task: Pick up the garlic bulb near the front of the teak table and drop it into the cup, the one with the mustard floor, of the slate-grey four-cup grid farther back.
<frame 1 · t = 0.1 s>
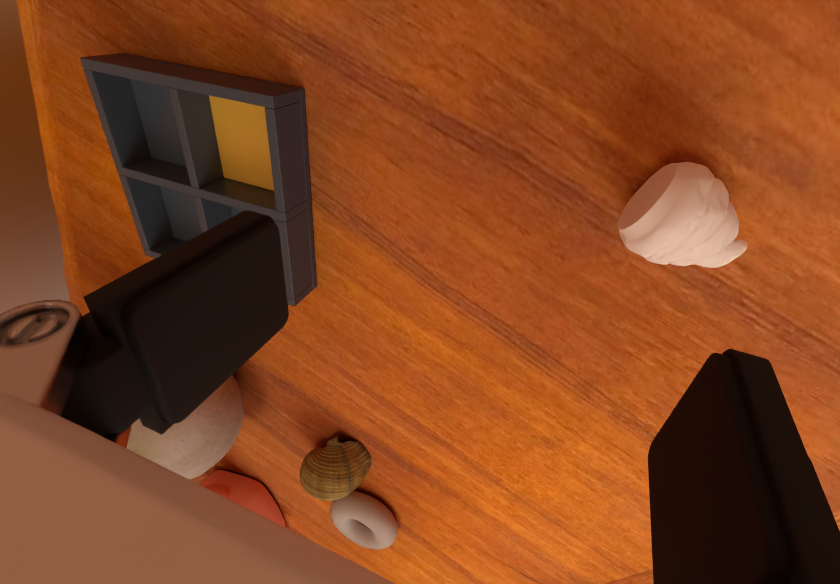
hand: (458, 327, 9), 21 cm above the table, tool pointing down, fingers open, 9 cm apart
pot: (249, 494, 75), on the table
donut: (369, 507, 61), on the table
grid: (227, 178, 38), on the table
garlic bulb: (685, 208, 26), on the table
decorative sphere: (222, 371, 56), on the table
seashell: (343, 451, 55), on the table
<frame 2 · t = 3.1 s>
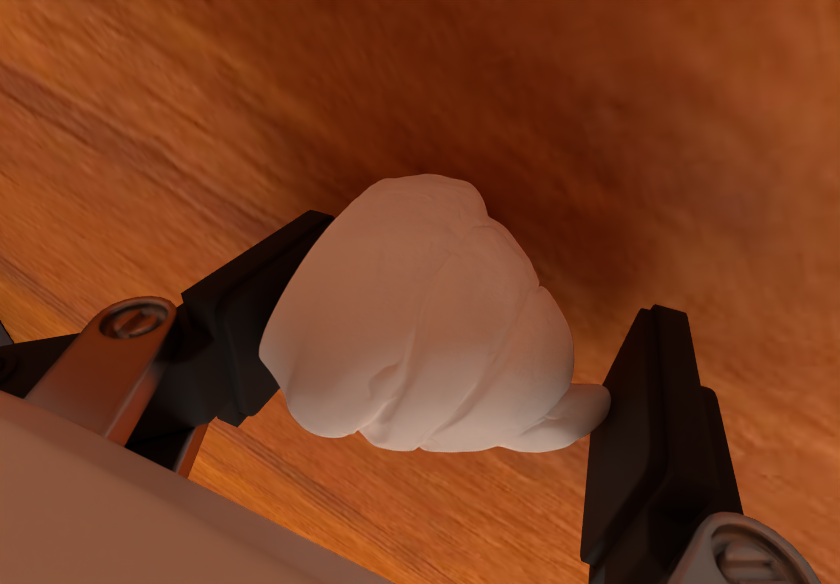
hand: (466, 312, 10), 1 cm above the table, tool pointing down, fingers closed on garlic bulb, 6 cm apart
garlic bulb: (493, 280, 11), on the table, touching gripper
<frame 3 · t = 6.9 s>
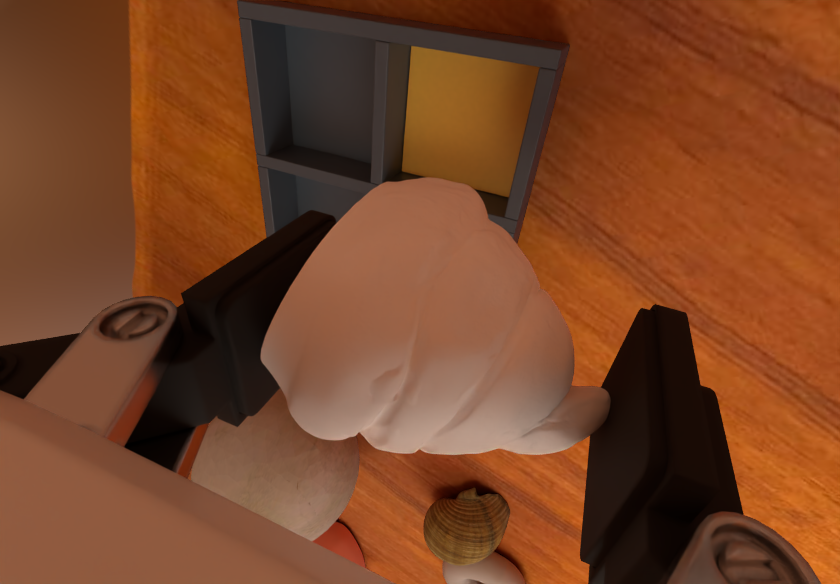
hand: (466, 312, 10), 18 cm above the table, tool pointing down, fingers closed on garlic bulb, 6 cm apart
pot: (324, 535, 65), on the table
donut: (487, 563, 52), on the table
grid: (399, 172, 29), on the table
garlic bulb: (493, 282, 11), point 17 cm above the table, touching gripper
decorative sphere: (323, 405, 47), on the table
seashell: (471, 501, 46), on the table
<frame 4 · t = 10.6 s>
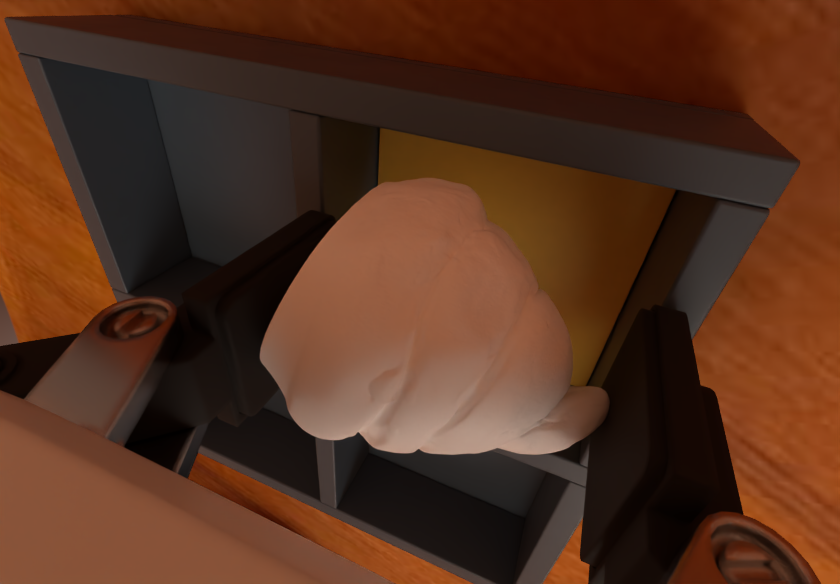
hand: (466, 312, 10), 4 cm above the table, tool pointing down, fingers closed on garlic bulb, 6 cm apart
grid: (371, 312, 16), on the table
garlic bulb: (493, 282, 11), point 2 cm above the table, touching gripper
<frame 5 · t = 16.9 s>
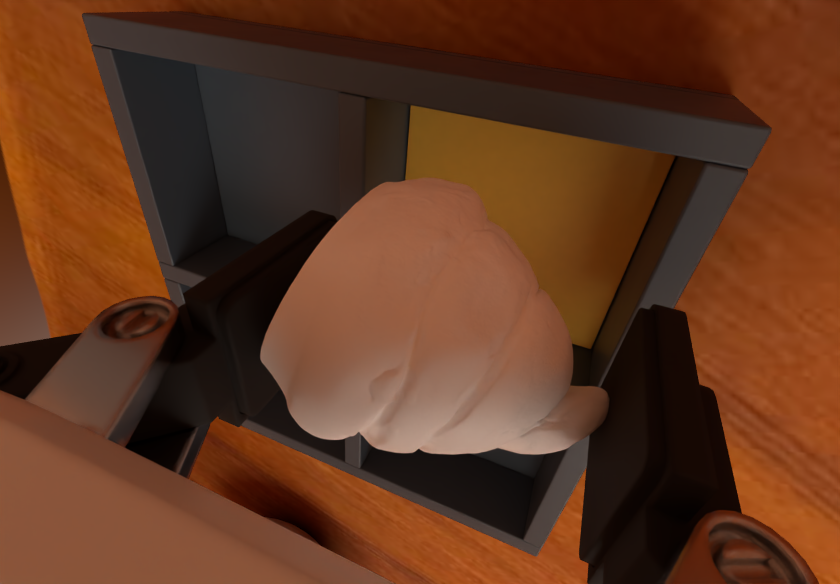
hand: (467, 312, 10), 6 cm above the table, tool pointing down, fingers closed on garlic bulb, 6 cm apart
grid: (394, 285, 18), on the table
garlic bulb: (493, 282, 11), point 4 cm above the table, touching gripper
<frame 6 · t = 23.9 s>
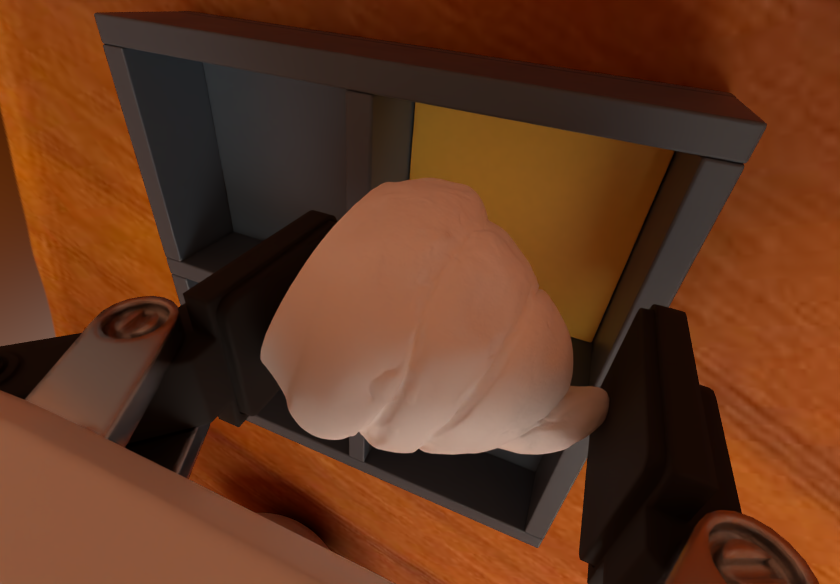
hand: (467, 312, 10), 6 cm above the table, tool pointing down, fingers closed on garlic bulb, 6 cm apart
grid: (398, 280, 18), on the table
garlic bulb: (493, 282, 11), point 5 cm above the table, touching gripper
decorative sphere: (303, 529, 36), on the table
when the fingers open (6 cm above the table, at t = 30.6 s): garlic bulb drops 4 cm, resting on grid.
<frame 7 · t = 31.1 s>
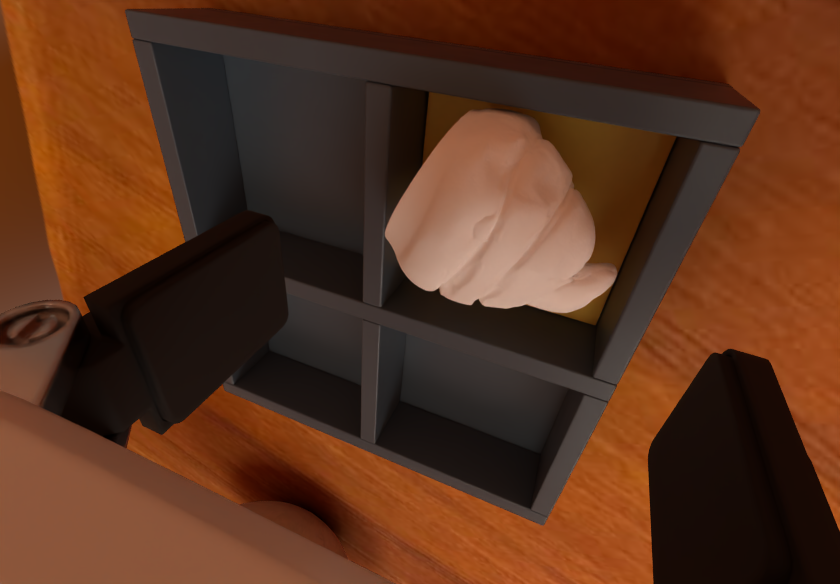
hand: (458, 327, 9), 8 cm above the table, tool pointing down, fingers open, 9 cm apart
grid: (408, 268, 19), on the table
garlic bulb: (531, 202, 15), point 1 cm above the table, touching grid
decorative sphere: (311, 517, 37), on the table
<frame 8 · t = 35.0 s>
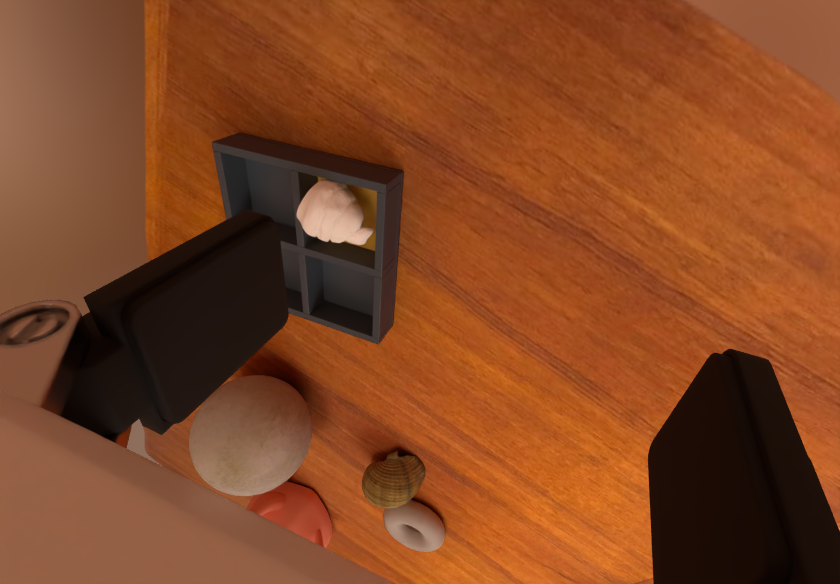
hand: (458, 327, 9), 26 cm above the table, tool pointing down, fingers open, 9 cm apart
pot: (299, 500, 81), on the table
donut: (418, 514, 67), on the table
grid: (321, 234, 44), on the table
garlic bulb: (356, 207, 40), point 1 cm above the table, touching grid
decorative sphere: (289, 392, 63), on the table
seashell: (399, 463, 62), on the table
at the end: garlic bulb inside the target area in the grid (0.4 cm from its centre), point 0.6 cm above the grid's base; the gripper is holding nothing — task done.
